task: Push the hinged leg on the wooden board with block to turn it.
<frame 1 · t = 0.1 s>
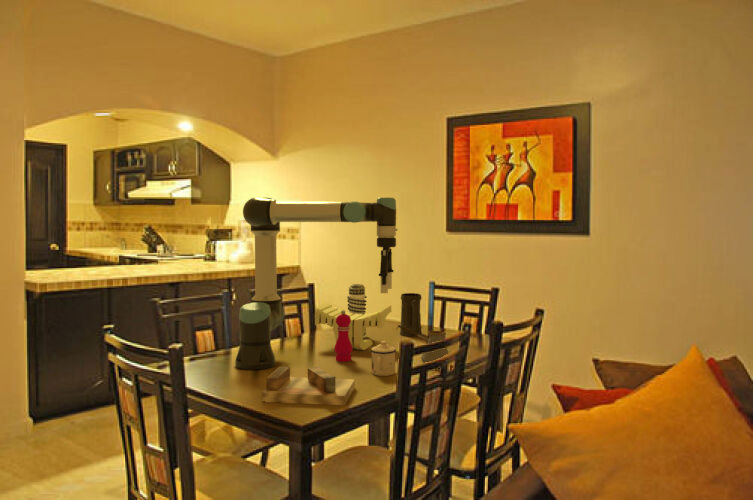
hand: (386, 290, 234), 28 cm above the table, tool pointing down, fingers open, 13 cm apart
teacup with lid: (382, 374, 216), on the table
slatted curved stool: (353, 347, 261), on the table
coffee pot: (423, 365, 230), on the table
wooden board with block: (310, 394, 191), on the table
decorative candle: (356, 337, 282), on the table
pepper mill: (343, 360, 237), on the table
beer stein: (412, 335, 286), on the table
hinged leg: (322, 378, 190), point 5 cm above the table, hinge at -55.0°
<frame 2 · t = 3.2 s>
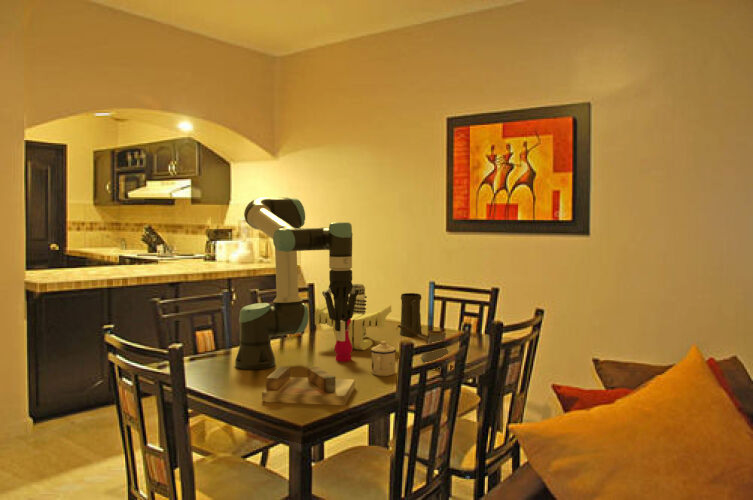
hand: (341, 340, 196), 16 cm above the table, tool pointing down, fingers closed
nothing on the table moved.
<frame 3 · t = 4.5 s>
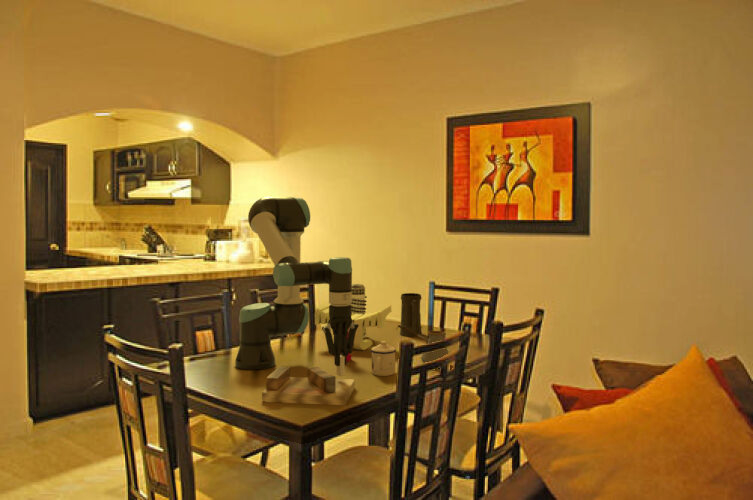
hand: (340, 375, 197), 5 cm above the table, tool pointing down, fingers closed
nothing on the table moved.
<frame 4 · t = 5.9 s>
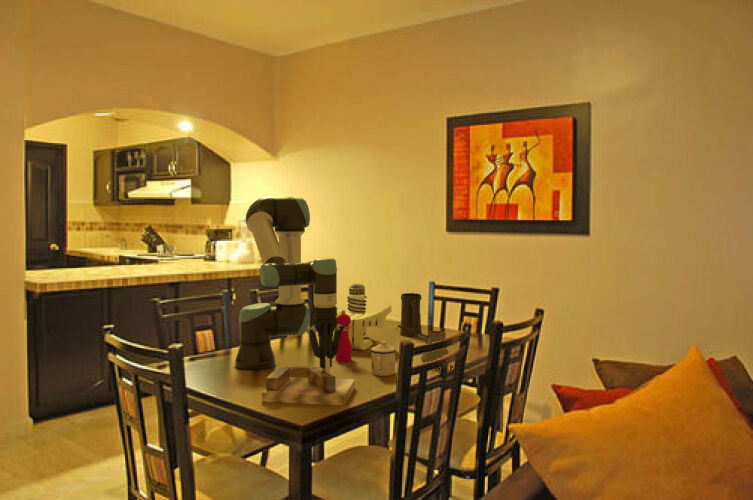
hand: (326, 377, 194), 5 cm above the table, tool pointing down, fingers closed
hinged leg: (322, 378, 190), point 5 cm above the table, hinge at -54.6°, touching gripper
everything else where it was.
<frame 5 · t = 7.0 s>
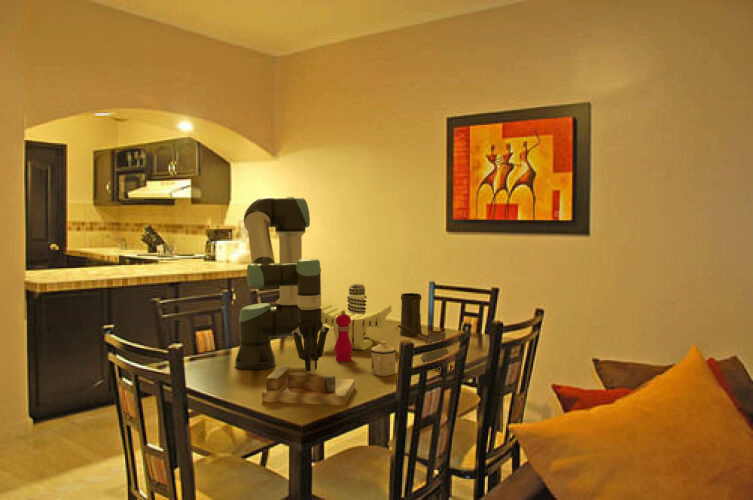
hand: (311, 380, 191), 5 cm above the table, tool pointing down, fingers closed
hinged leg: (312, 381, 187), point 5 cm above the table, hinge at -20.2°, touching gripper
everything else where it was.
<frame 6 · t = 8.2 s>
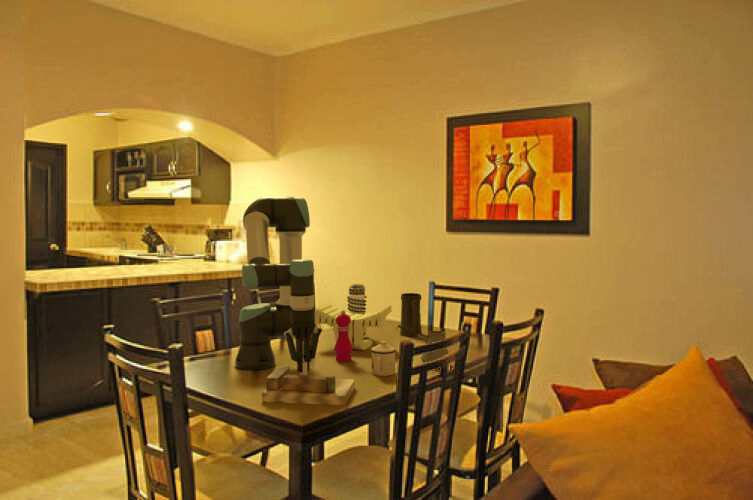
hand: (303, 381, 189), 5 cm above the table, tool pointing down, fingers closed
hinged leg: (309, 382, 185), point 5 cm above the table, hinge at -4.6°, touching gripper
everything else where it was.
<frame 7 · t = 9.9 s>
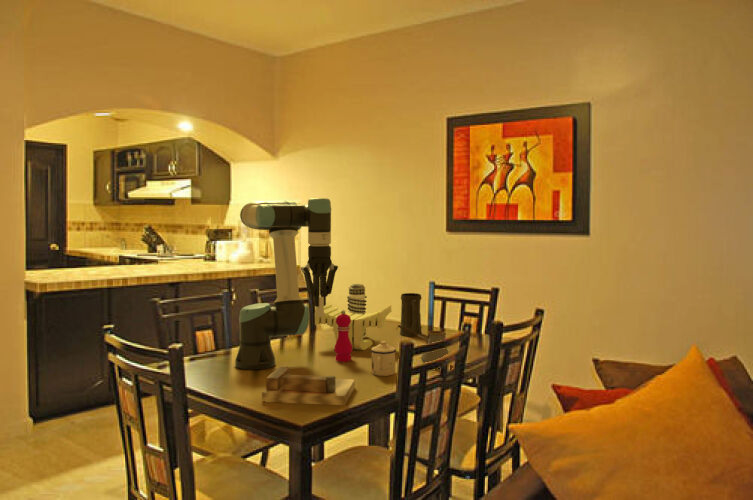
hand: (319, 315, 197), 24 cm above the table, tool pointing down, fingers closed
hinged leg: (309, 382, 185), point 5 cm above the table, hinge at -4.5°
everything else where it was.
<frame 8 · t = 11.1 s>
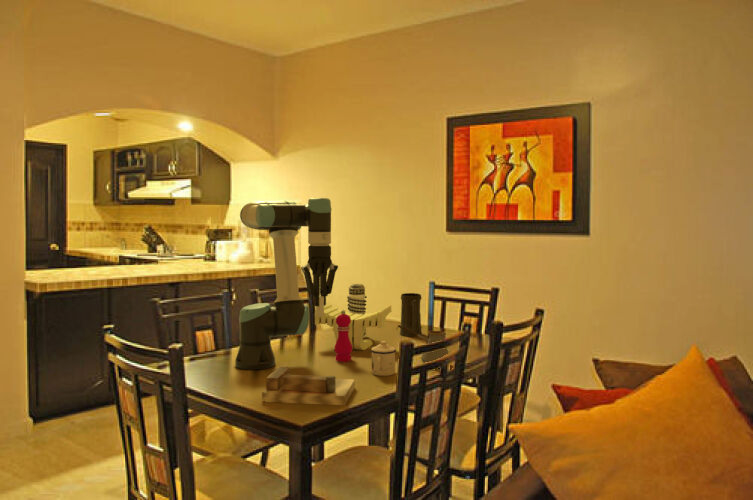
hand: (320, 315, 197), 24 cm above the table, tool pointing down, fingers closed
nothing on the table moved.
at the end: hinged leg at -4° (first picture: -55°) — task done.
